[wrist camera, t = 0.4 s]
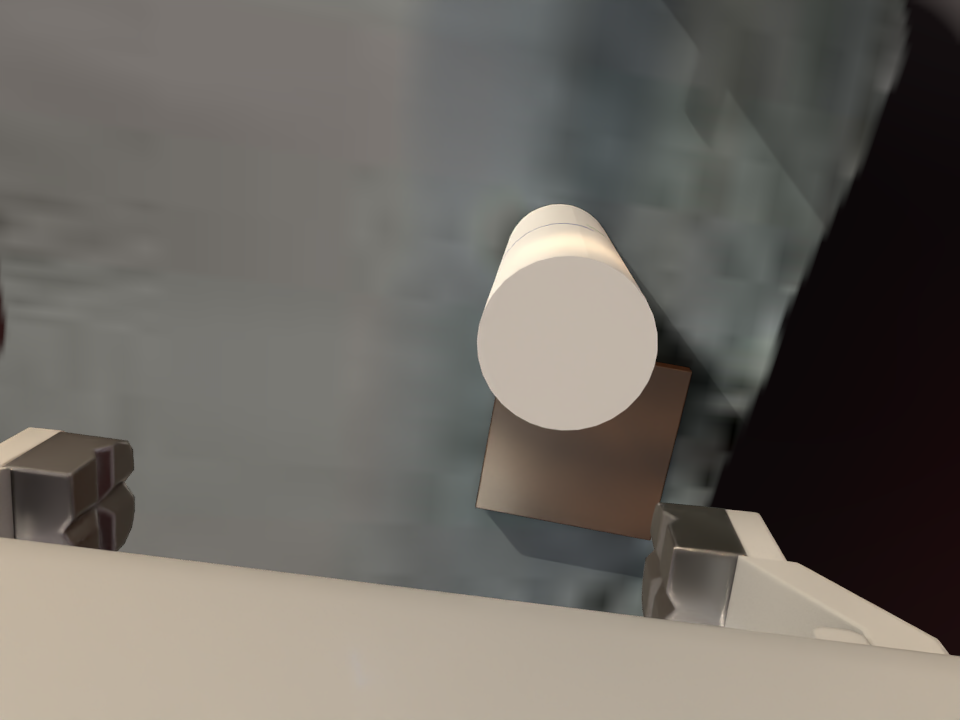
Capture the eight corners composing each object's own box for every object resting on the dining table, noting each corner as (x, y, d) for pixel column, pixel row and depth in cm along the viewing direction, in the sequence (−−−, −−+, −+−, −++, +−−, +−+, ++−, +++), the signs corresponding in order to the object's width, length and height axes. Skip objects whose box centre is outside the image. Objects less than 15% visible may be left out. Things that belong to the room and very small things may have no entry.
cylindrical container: (519, 193, 56) (499, 237, 32) (622, 217, 56) (679, 279, 32) (495, 294, 58) (459, 407, 34) (595, 318, 58) (630, 448, 34)
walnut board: (506, 334, 59) (506, 338, 58) (689, 367, 59) (692, 372, 57) (476, 500, 62) (474, 507, 61) (648, 533, 62) (650, 540, 61)
